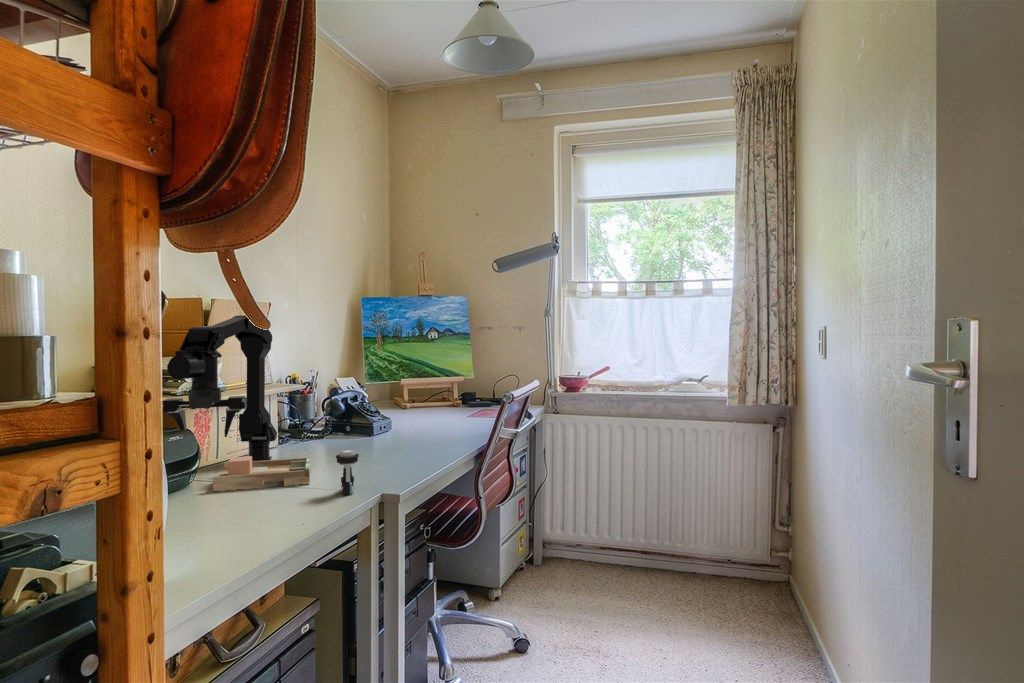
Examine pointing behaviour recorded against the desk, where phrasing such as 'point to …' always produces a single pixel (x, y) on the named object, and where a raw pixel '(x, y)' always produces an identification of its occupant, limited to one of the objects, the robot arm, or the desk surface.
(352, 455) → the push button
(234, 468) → the block
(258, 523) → the desk surface
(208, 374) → the robot arm
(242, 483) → the board
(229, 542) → the desk surface
